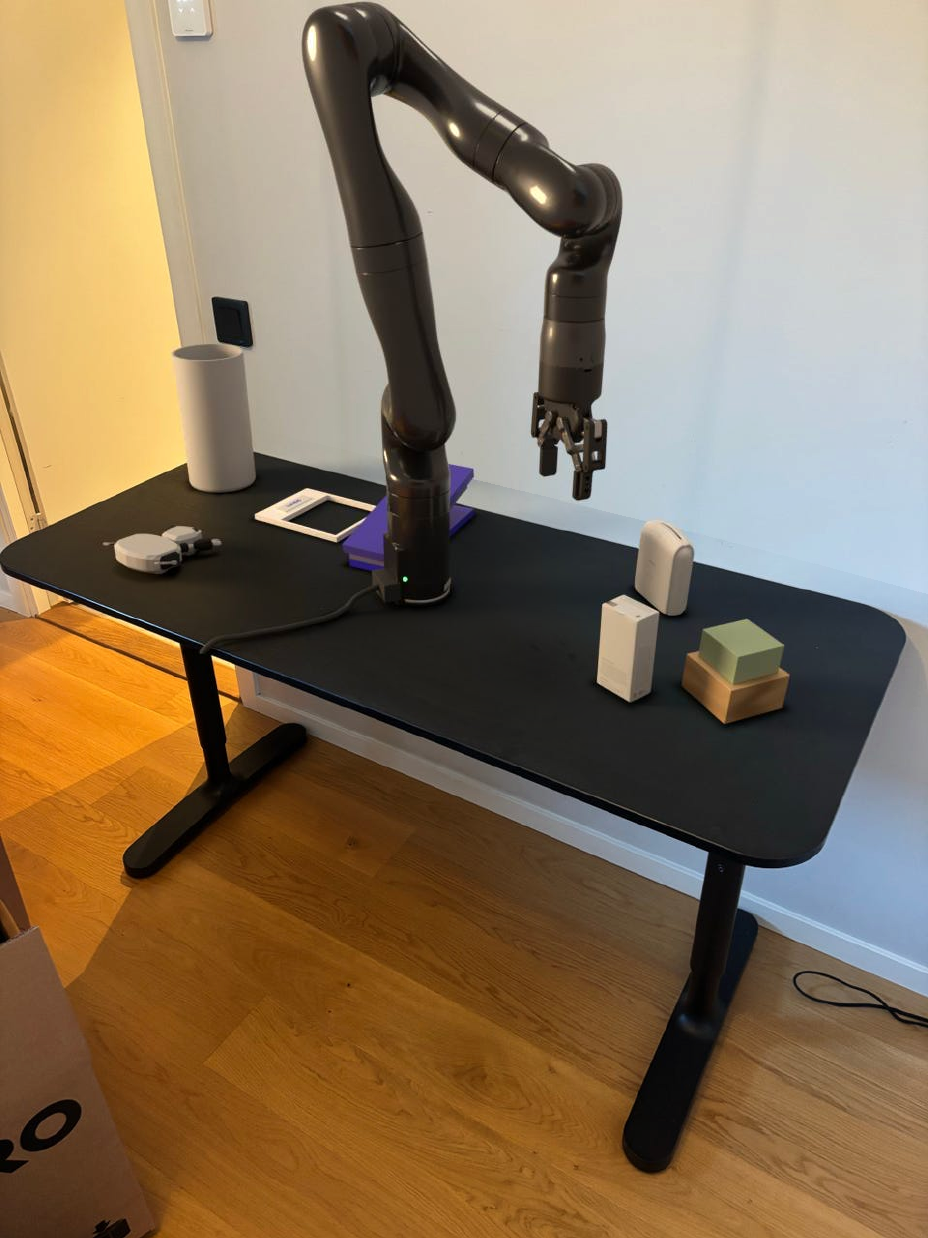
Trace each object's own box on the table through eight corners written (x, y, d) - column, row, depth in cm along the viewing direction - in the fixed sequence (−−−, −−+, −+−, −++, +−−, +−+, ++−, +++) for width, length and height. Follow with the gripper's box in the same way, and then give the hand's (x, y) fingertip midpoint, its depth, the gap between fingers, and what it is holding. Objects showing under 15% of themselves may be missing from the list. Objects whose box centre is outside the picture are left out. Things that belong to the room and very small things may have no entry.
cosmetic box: (651, 692, 117) (663, 611, 111) (628, 705, 115) (639, 622, 108) (616, 671, 121) (626, 592, 115) (593, 683, 119) (601, 602, 113)
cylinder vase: (224, 499, 169) (208, 364, 157) (176, 485, 175) (156, 353, 162) (269, 478, 179) (257, 349, 166) (222, 465, 184) (207, 340, 171)
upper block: (732, 684, 110) (738, 656, 108) (697, 655, 116) (702, 628, 114) (778, 672, 113) (784, 645, 111) (742, 645, 118) (747, 618, 116)
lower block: (724, 724, 111) (731, 690, 109) (681, 685, 119) (686, 653, 116) (782, 708, 115) (790, 675, 112) (736, 671, 122) (743, 639, 119)
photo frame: (306, 487, 172) (385, 507, 164) (307, 492, 172) (385, 513, 165) (254, 513, 161) (336, 536, 153) (255, 519, 161) (336, 542, 154)
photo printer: (629, 587, 142) (639, 514, 136) (653, 583, 143) (664, 511, 137) (664, 619, 134) (675, 543, 127) (689, 614, 135) (701, 538, 129)
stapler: (476, 515, 165) (478, 464, 160) (405, 580, 142) (405, 523, 138) (419, 504, 169) (419, 454, 164) (342, 566, 146) (339, 509, 141)
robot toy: (176, 540, 155) (102, 566, 144) (174, 515, 153) (98, 540, 142) (227, 558, 150) (154, 587, 138) (226, 533, 148) (152, 560, 136)
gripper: (515, 345, 110) (511, 472, 118) (574, 375, 98) (565, 512, 107) (569, 339, 112) (562, 463, 121) (633, 367, 101) (620, 502, 109)
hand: (564, 486), depth 114 cm, fingers open, 8 cm apart
